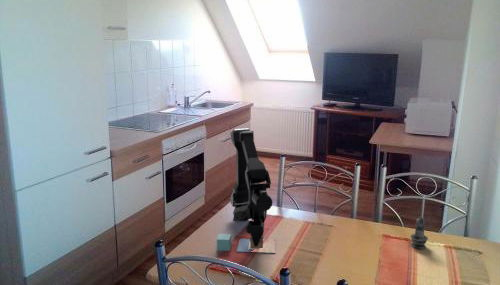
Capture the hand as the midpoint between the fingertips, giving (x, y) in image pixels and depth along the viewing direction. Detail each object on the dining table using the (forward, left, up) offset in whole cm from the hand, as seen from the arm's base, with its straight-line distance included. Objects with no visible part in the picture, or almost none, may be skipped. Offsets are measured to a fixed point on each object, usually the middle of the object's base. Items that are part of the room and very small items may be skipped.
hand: (257, 240), depth 153 cm
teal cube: (+2, -12, -3) cm, 12 cm away
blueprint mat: (0, 0, -2) cm, 2 cm away
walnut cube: (0, 0, -2) cm, 2 cm away
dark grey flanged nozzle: (-5, +59, -3) cm, 59 cm away
